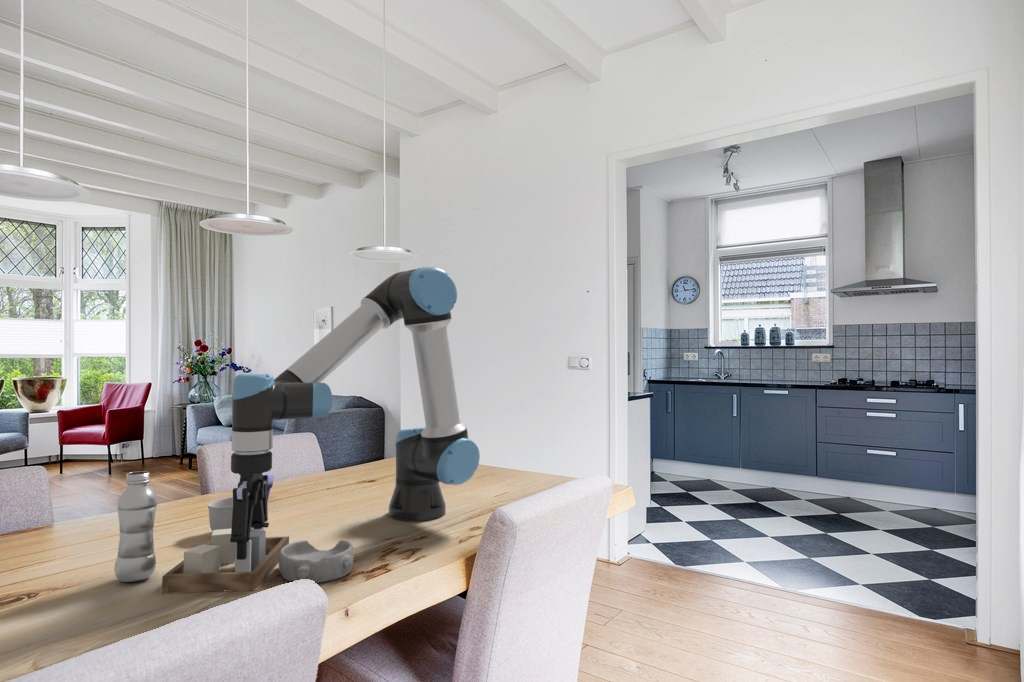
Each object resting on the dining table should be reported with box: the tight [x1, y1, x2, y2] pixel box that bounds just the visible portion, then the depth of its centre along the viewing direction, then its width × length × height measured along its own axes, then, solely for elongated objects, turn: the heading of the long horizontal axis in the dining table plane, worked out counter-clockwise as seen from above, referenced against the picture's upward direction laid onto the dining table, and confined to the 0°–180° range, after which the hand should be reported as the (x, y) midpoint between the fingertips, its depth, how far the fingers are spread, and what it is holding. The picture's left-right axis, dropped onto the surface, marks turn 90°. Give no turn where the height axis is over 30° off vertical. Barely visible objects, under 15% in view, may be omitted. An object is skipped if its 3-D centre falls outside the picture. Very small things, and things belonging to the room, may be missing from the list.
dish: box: [278, 539, 355, 584], centre depth 116 cm, size 14×14×5 cm
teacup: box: [207, 496, 253, 532], centre depth 142 cm, size 14×11×8 cm
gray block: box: [249, 530, 267, 572], centre depth 117 cm, size 4×4×7 cm
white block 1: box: [183, 543, 221, 574], centre depth 111 cm, size 4×4×6 cm
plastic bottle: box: [113, 470, 159, 583], centre depth 111 cm, size 6×7×20 cm
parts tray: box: [161, 535, 290, 594], centre depth 117 cm, size 16×22×3 cm
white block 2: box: [210, 528, 235, 565], centre depth 122 cm, size 4×4×6 cm
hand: (249, 567), depth 117 cm, fingers open, 7 cm apart
